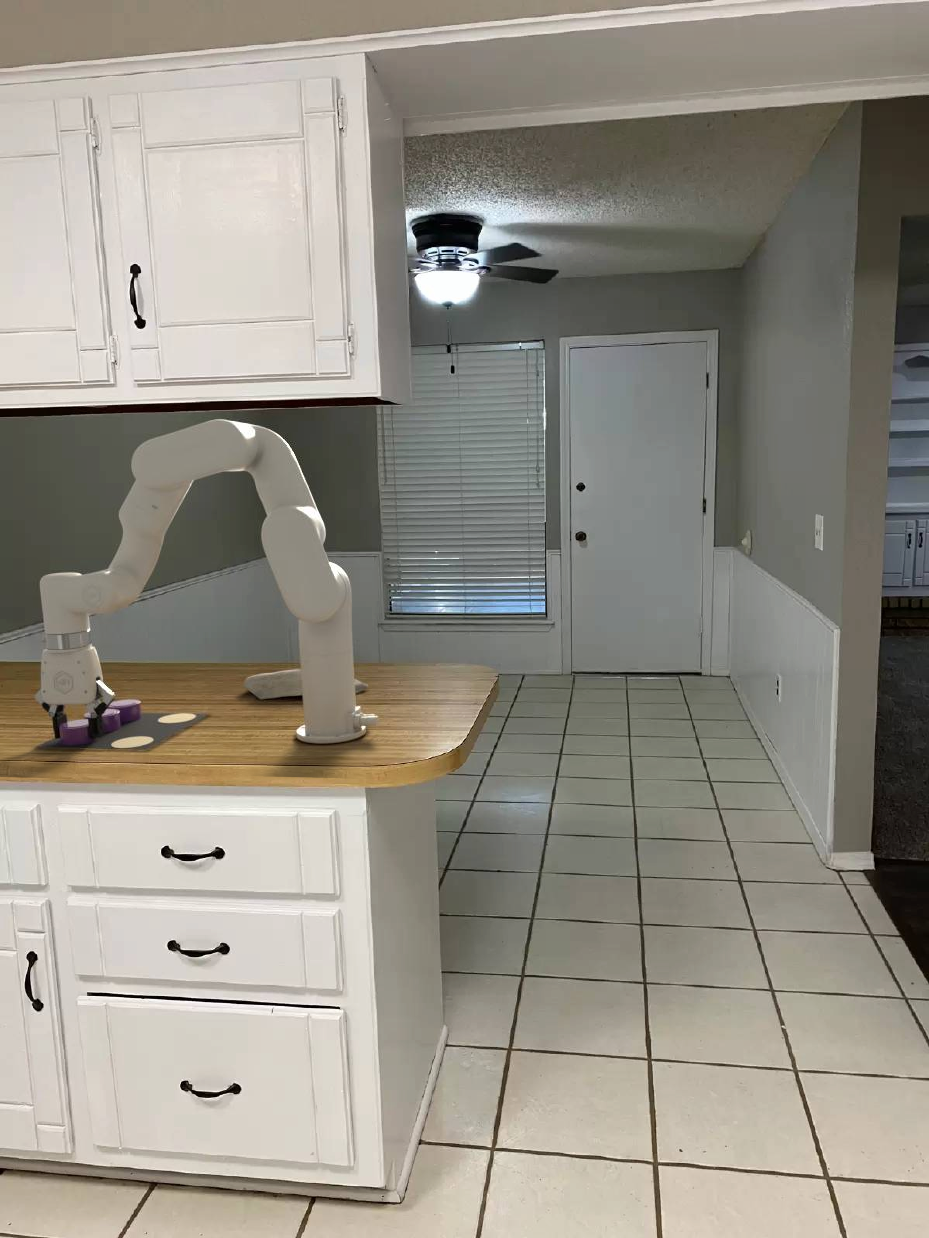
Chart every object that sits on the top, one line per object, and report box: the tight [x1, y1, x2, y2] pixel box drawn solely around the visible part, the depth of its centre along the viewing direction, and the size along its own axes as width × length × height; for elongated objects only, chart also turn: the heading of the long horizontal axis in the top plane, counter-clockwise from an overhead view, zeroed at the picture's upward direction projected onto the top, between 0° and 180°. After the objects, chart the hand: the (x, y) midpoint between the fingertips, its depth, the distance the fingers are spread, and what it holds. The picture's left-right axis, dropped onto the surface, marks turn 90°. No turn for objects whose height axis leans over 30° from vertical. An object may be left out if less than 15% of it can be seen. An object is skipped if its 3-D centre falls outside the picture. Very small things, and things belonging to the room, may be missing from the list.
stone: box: [242, 668, 369, 700], centre depth 199 cm, size 28×7×15 cm
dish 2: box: [83, 709, 121, 733], centre depth 173 cm, size 6×6×3 cm
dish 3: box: [107, 698, 143, 723], centre depth 180 cm, size 6×6×3 cm
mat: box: [36, 712, 210, 751], centre depth 172 cm, size 22×24×1 cm
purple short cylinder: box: [59, 718, 98, 746], centre depth 165 cm, size 6×6×3 cm
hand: (79, 736), depth 166 cm, fingers closed on purple short cylinder, 6 cm apart
